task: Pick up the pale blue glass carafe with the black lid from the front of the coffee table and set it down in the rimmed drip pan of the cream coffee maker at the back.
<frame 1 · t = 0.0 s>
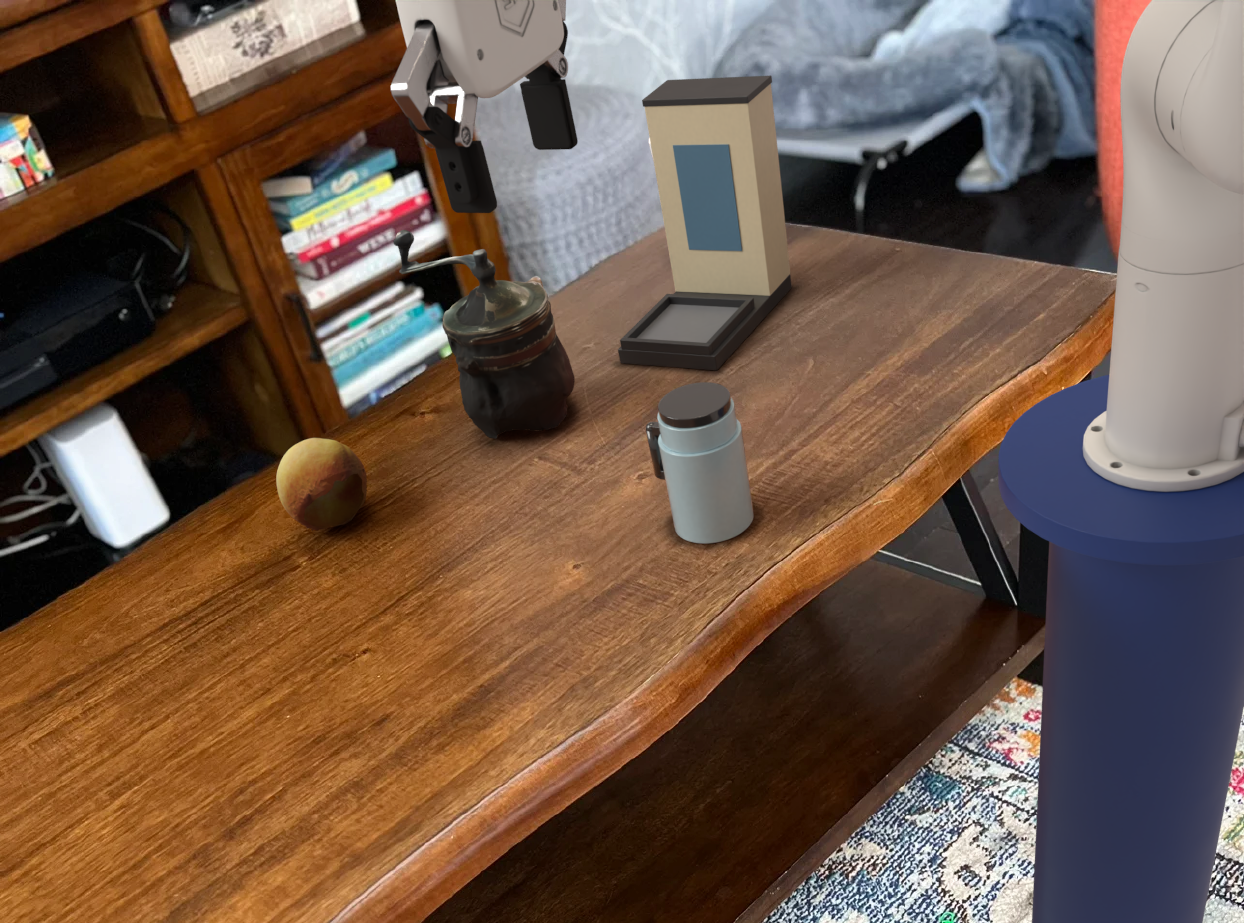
hand: (517, 178, 82), 31 cm above the table, tool pointing down, fingers open, 9 cm apart
coffee grinder: (510, 424, 125), on the table
fruit: (338, 524, 118), on the table
cup: (711, 252, 144), on the table
carafe: (714, 520, 106), on the table
coffee maker: (710, 321, 132), on the table
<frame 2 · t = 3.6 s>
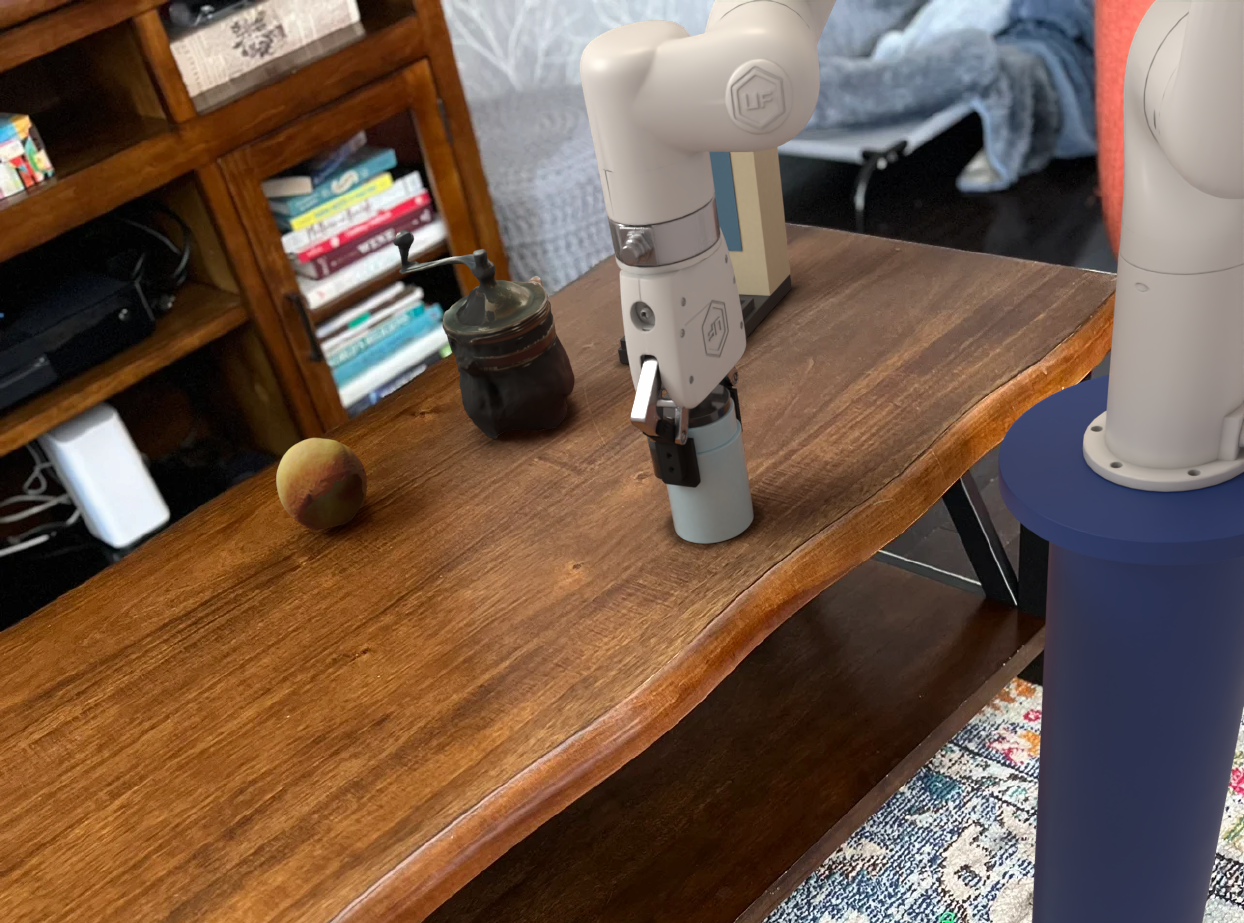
hand: (703, 457, 102), 6 cm above the table, tool pointing down, fingers closed on carafe, 6 cm apart
carafe: (713, 520, 106), on the table, touching gripper
everything else where it was.
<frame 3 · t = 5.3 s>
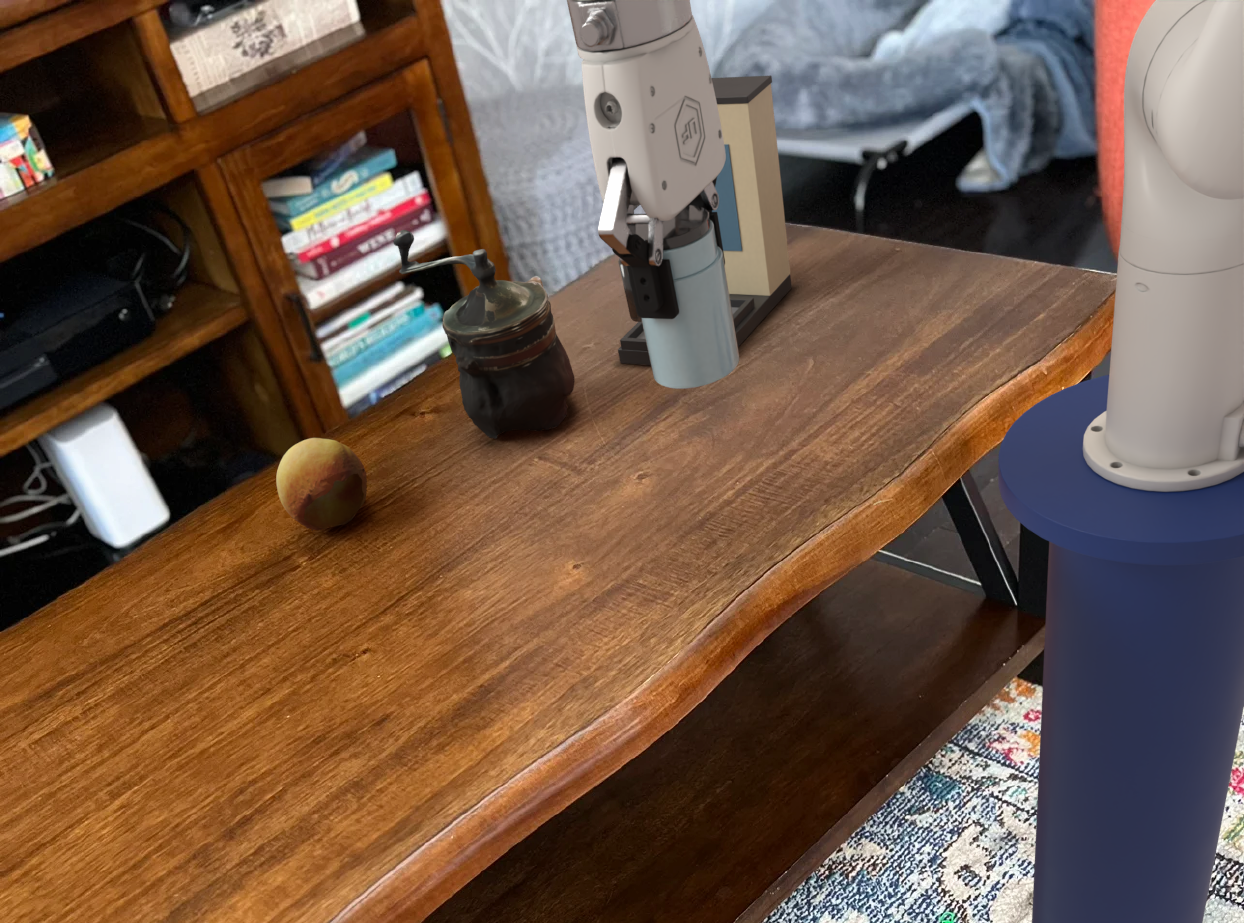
hand: (682, 290, 93), 19 cm above the table, tool pointing down, fingers closed on carafe, 6 cm apart
carafe: (696, 367, 97), point 13 cm above the table, touching gripper
everything else where it was.
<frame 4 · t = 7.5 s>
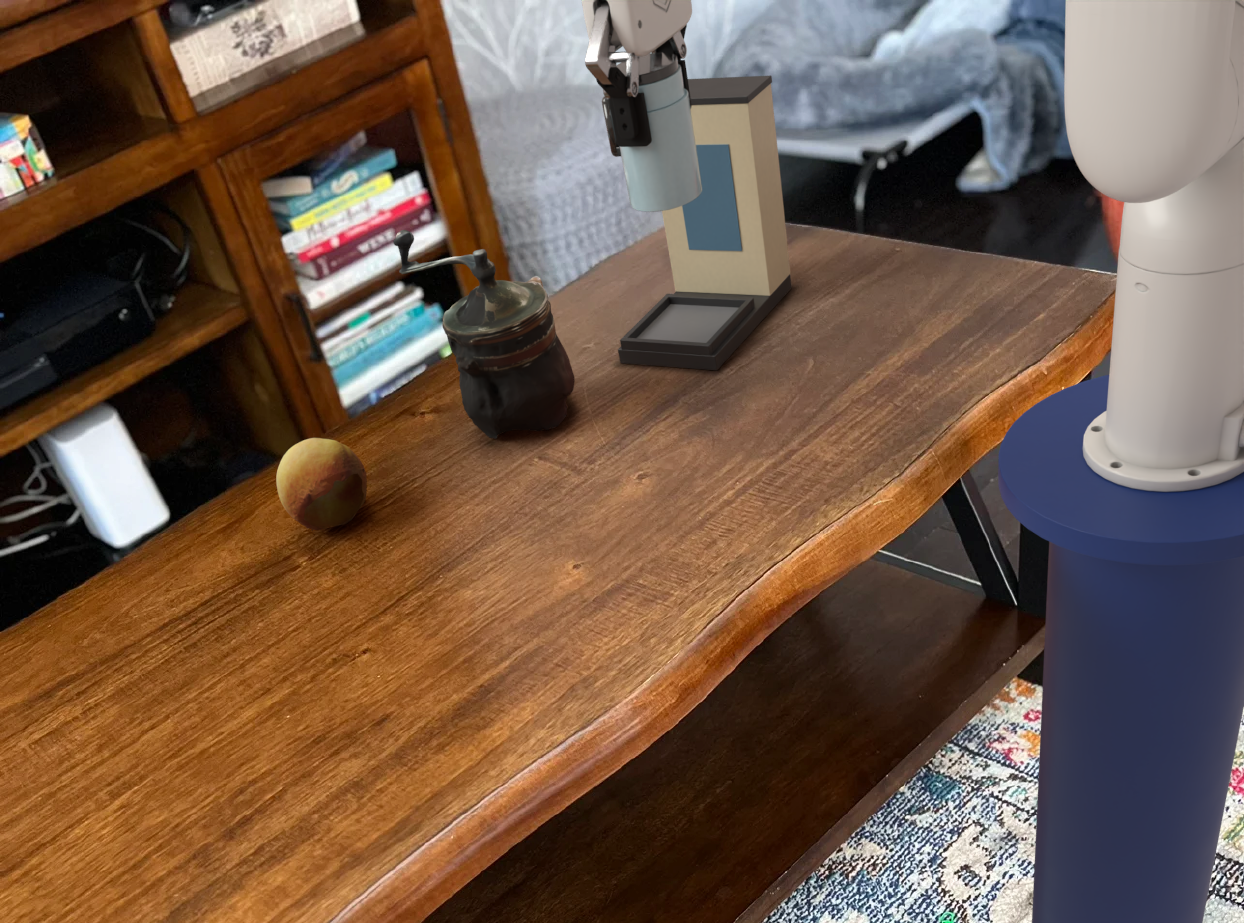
hand: (655, 126, 111), 22 cm above the table, tool pointing down, fingers closed on carafe, 6 cm apart
carafe: (666, 196, 115), point 16 cm above the table, touching gripper
everything else where it was.
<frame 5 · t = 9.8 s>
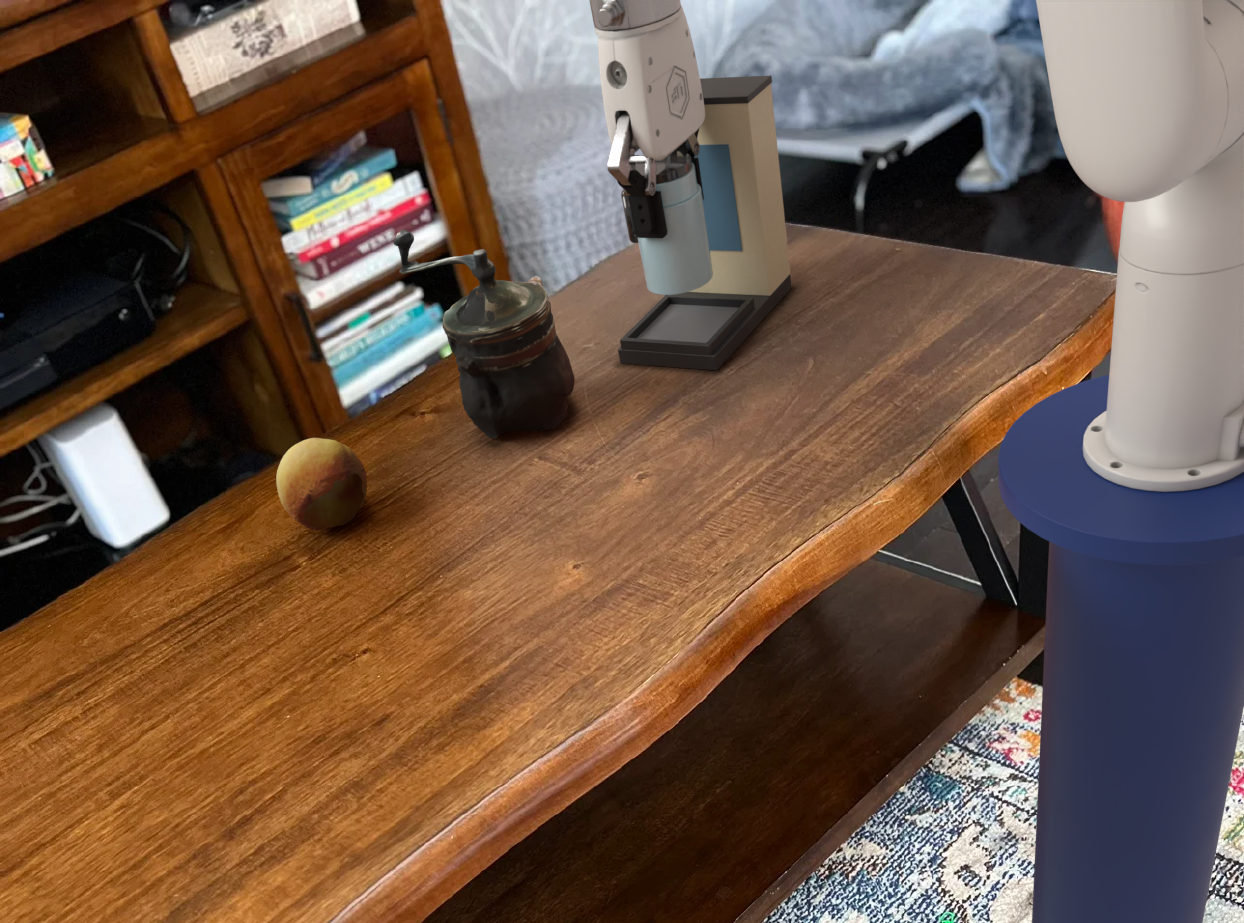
hand: (670, 218, 121), 12 cm above the table, tool pointing down, fingers closed on carafe, 6 cm apart
carafe: (679, 279, 125), point 6 cm above the table, touching gripper
everything else where it was.
when the fingers open (8 cm above the table, at t = 11.5 s): carafe stays where it is, resting on coffee maker.
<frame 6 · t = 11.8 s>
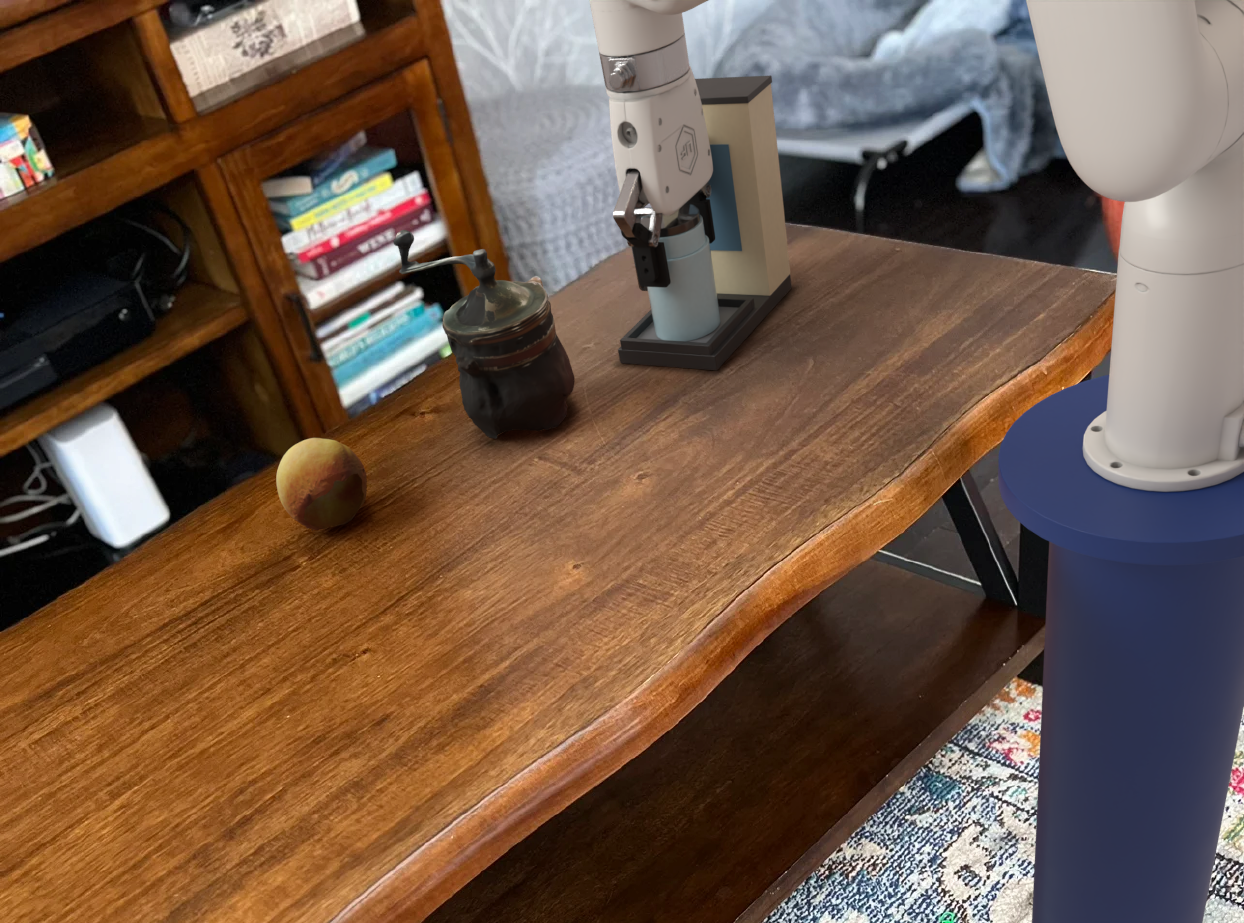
hand: (678, 263, 124), 8 cm above the table, tool pointing down, fingers open, 8 cm apart
carafe: (688, 326, 128), point 2 cm above the table, touching coffee maker
everything else where it was.
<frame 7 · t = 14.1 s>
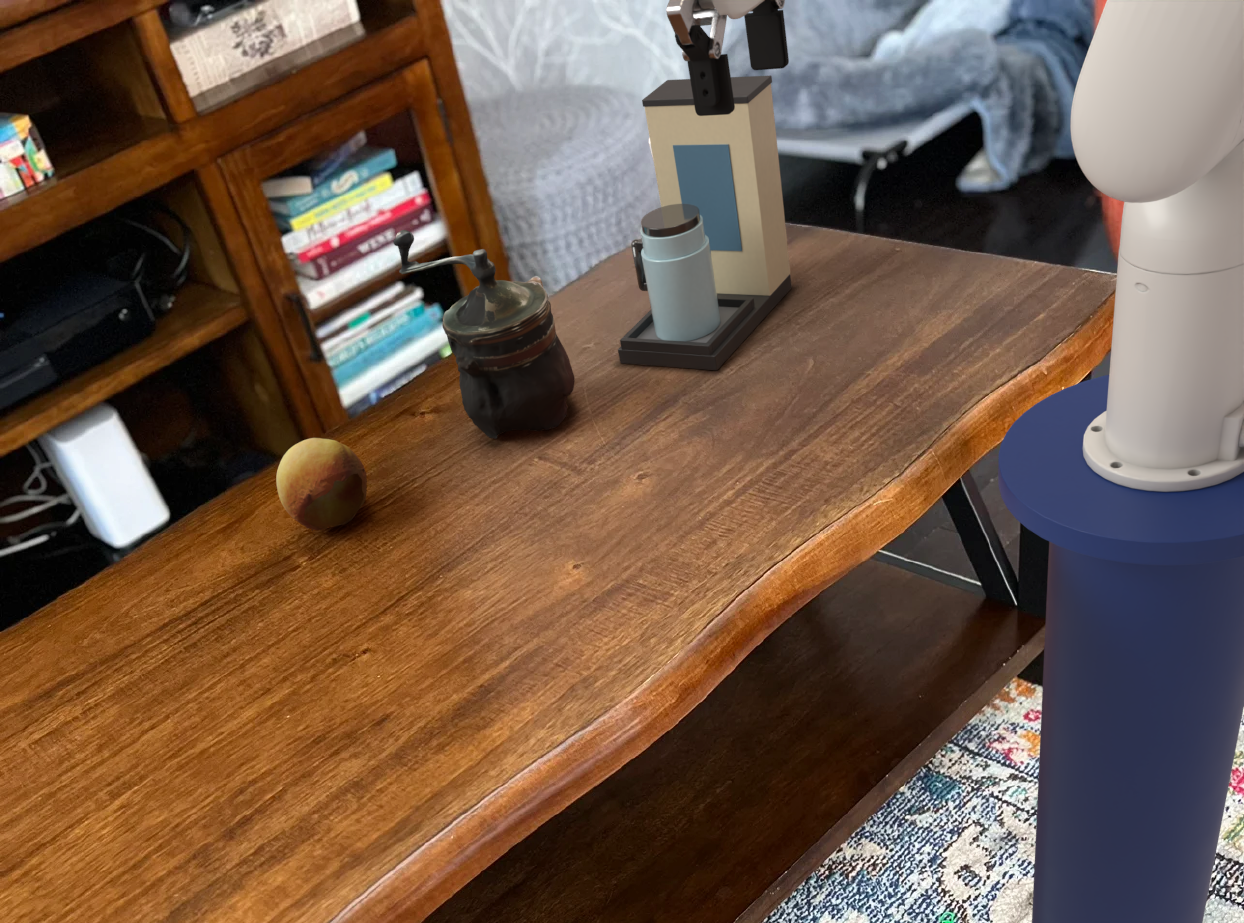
hand: (743, 90, 102), 25 cm above the table, tool pointing down, fingers open, 9 cm apart
nothing on the table moved.
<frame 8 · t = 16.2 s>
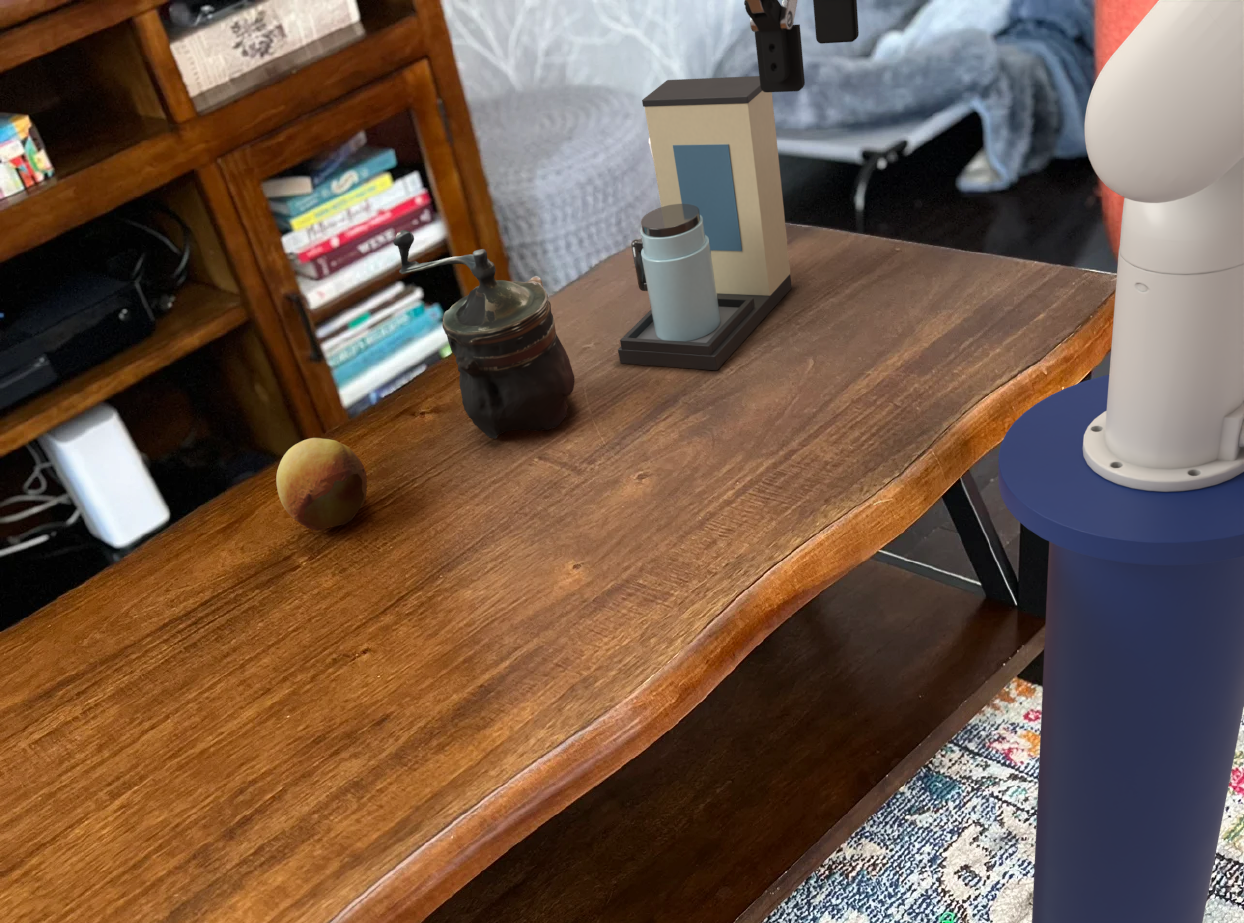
hand: (811, 65, 94), 28 cm above the table, tool pointing down, fingers open, 9 cm apart
nothing on the table moved.
at the end: carafe 0.0 cm from the target spot on the coffee maker, point 1.7 cm above the coffee maker's base; carafe tilted 0°; the gripper is holding nothing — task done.
